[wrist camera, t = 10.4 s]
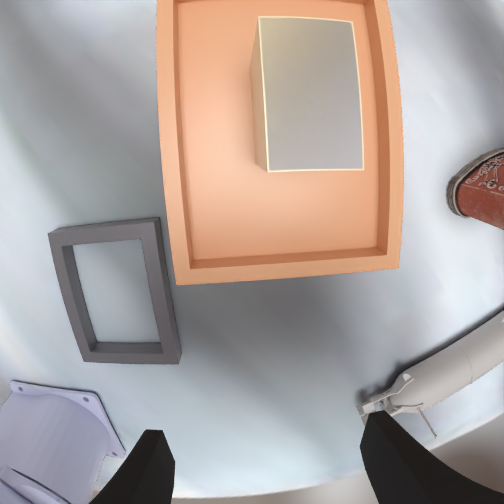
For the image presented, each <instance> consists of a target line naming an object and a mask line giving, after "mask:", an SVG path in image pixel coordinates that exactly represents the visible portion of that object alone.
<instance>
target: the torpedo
mask: <svg viewBox="0 0 504 504" xmlns="http://www.w3.org/2000/svg"><path fill="white" fill-rule="evenodd" d="M503 320H504V310H503V311H502V312H500V313H499V314H497V315H496V316H495V317H493V318H492V319H490V320H489V321H487V322H486V323H484V324H483V325H481V326H480V327H478V328H477V329H475V330H474V331H472V332H471V333H469V334H468V335H466V336H464V337H463V338H461V339H460V340H458V341H456V342H455V343H453V344H451V345H450V346H448V347H446V348H445V349H443V350H441V351H439V352H438V353H436V354H434V355H432V356H431V357H429V358H427V359H425V360H423V361H422V362H420V363H418V364H416V365H414V366H412V367H410V368H408V369H406V370H405V371H404V372H402V373H401V374H400V375H399V376H398V377H397V379H396V381H395V383H394V384H393V386H392V387H391V388H390V389H388V390H387V391H385V392H383V393H381V394H379V395H377V396H375V397H372V398H371V399H370V400H369V401H367V402H365V403H362V404H360V405H358V406H356V407H357V409H358V411H359V414H360V415H363V414H365V416H362V417H361V418H362V421H363V423H364V425H365V426H366V422H367V419H368V415H369V413H373V412H376V411H375V407H374V403H375V402H377V401H380V403H381V404H380V407H381V409H383V410H385V411H386V412H387V413H388V414H389V415H390V416H393V415H396V414H398V413H401V412H406V413H419V412H420V413H421V415H422V416H423V418H424V419H425V421H426V423H427V424H428V426H429V428H430V429H431V431H432V433H433V435H434V436H435V439H437V435H436V434H435V433H434V431H433V429H432V428H431V426H430V424H429V423H428V421H427V419H426V418H425V416H424V414H423V413H422V412H423V411H425V410H427V409H428V408H430V407H432V406H434V405H436V404H437V403H439V402H441V401H443V400H444V399H446V398H448V397H449V396H451V395H453V394H454V393H456V392H458V391H459V390H461V389H462V388H464V387H465V386H467V385H469V384H471V383H473V382H474V381H476V380H477V379H479V378H480V377H481V376H483V375H484V374H486V373H487V372H489V371H490V370H492V369H493V368H494V367H496V366H497V365H498V364H500V363H501V362H503V361H504V321H503ZM502 321H503V322H502ZM382 399H384V402H383V401H382ZM373 402H374V403H373Z"/></svg>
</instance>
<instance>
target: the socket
mask: <svg viewBox="0 0 504 504" xmlns="http://www.w3.org/2000/svg"><path fill="white" fill-rule="evenodd" d="M48 237H49V243H50V247H51V252H52V257H53V261H54V265H55V270H56V274H57V278H58V282H59V286H60V289H61V293H62V297H63V300H64V304H65V307H66V310H67V314H68V317H69V320H70V323H71V326H72V329H73V332H74V335H75V338H76V341H77V344H78V347H79V350H80V352H81V355H82V358H83V361H84V362H98V363H120V364H179V362H180V358H181V354H182V352H181V347H180V342H179V337H178V332H177V327H176V321H175V316H174V311H173V305H172V299H171V293H170V287H169V281H168V275H167V268H166V262H165V255H164V248H163V240H162V233H161V225H160V217H157V218H146V219H136V220H126V221H117V222H107V223H98V224H90V225H81V226H73V227H65V228H57V229H56V230H54V231H52V232H50V233H48ZM134 239H141V240H142V247H143V253H144V259H145V265H146V271H147V277H148V282H149V288H150V293H151V298H152V303H153V308H154V313H155V318H156V323H157V327H158V332H159V336H160V341H161V343H105V342H97V341H96V338H95V335H94V332H93V329H92V325H91V322H90V318H89V315H88V312H87V308H86V304H85V301H84V297H83V293H82V289H81V285H80V281H79V277H78V273H77V268H76V264H75V259H74V254H73V250H72V245H78V244H89V243H100V242H111V241H122V240H134Z"/></svg>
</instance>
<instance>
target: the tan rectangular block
mask: <svg viewBox="0 0 504 504" xmlns="http://www.w3.org/2000/svg"><path fill="white" fill-rule="evenodd" d="M250 77H251V93H252V110H253V128H254V146H255V164H256V165H257V166H259V167H260V168H262V169H263V170H265V171H266V172H288V171H327V170H364V144H363V121H362V104H361V90H360V79H359V68H358V59H357V50H356V42H355V34H354V27H353V22H352V21H344V20H335V19H325V18H311V17H291V16H258V19H257V26H256V32H255V38H254V44H253V51H252V57H251V64H250Z"/></svg>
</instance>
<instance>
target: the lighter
mask: <svg viewBox="0 0 504 504" xmlns="http://www.w3.org/2000/svg"><path fill="white" fill-rule="evenodd" d="M446 199H447V204H448V206H449V208H450V210H451V211H452V212H453V213H454V214H456V215H459V216H461V217H464V218H470V217H472V218H475V219H478V220H480V221H483V222H485V223H488V224H490V225H493V226H495V227H498V228H500V229H503V230H504V148H500V149H495V150H492V151H490V152H487V153H485V154H483V155H480V156H479V157H477V158H476V159H474V160H473V161H471V162H470V163H469V164H467V165H466V166H465V167H463V168H462V169H461V170H460V171H459V172H458V173H457V174H456V175H454V176H453V177H452V178H451V180H450V181H449V182H448V185H447V188H446Z"/></svg>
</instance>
